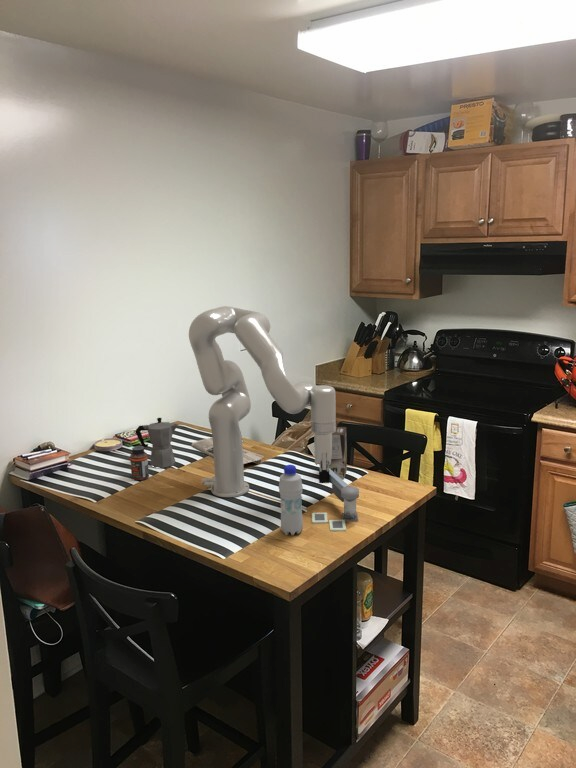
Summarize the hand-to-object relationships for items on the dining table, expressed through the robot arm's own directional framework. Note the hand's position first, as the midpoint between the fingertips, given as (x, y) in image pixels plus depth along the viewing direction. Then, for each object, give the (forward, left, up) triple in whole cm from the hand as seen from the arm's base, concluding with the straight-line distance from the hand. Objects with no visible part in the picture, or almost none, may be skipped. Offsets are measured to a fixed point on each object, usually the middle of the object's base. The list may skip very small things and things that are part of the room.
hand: (324, 482), depth 194 cm
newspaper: (-35, +44, -7) cm, 57 cm away
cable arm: (+4, -5, -4) cm, 7 cm away
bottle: (-10, -20, -7) cm, 23 cm away
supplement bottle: (-64, +22, -7) cm, 68 cm away
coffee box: (+5, +22, -7) cm, 24 cm away
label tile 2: (+3, -17, -6) cm, 18 cm away
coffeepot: (-60, +35, -7) cm, 70 cm away
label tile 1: (-2, -12, -6) cm, 14 cm away
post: (+7, -12, -6) cm, 15 cm away
